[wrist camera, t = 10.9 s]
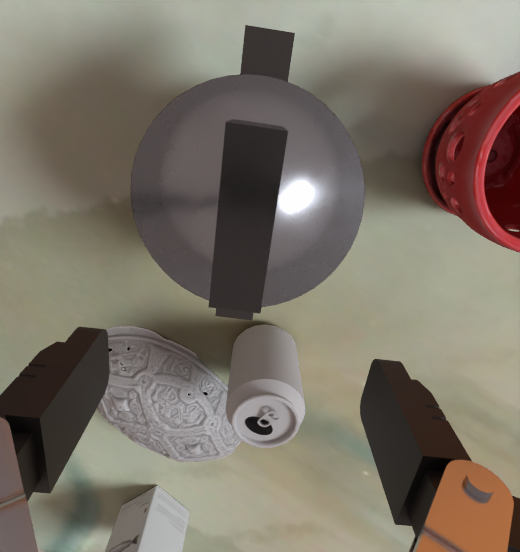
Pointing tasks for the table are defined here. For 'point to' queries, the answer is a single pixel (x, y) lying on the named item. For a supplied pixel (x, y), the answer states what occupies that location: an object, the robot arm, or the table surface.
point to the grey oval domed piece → (165, 397)
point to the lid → (247, 191)
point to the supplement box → (150, 524)
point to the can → (265, 387)
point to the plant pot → (479, 161)
